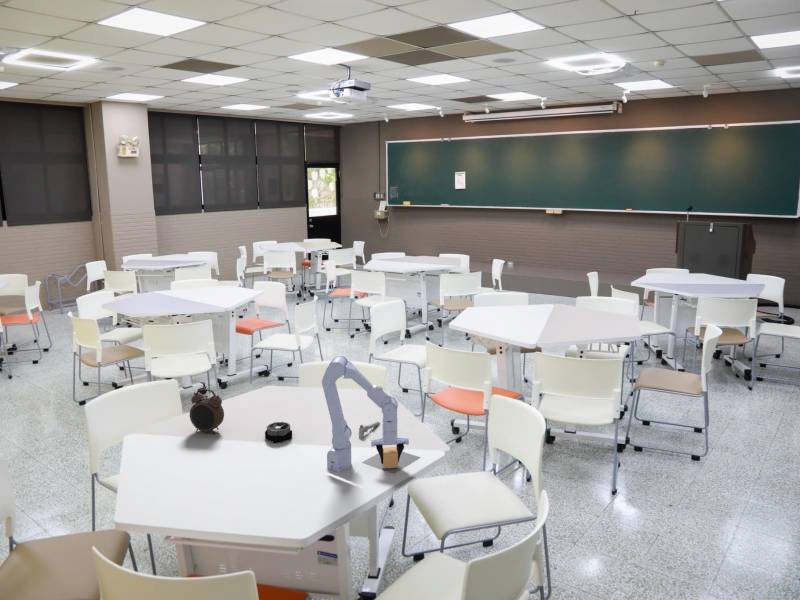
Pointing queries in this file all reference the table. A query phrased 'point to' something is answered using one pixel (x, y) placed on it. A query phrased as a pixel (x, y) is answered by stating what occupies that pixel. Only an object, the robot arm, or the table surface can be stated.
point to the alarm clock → (206, 411)
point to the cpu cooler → (278, 432)
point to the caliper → (366, 428)
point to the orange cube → (390, 457)
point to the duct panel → (403, 462)
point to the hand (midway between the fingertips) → (389, 462)
